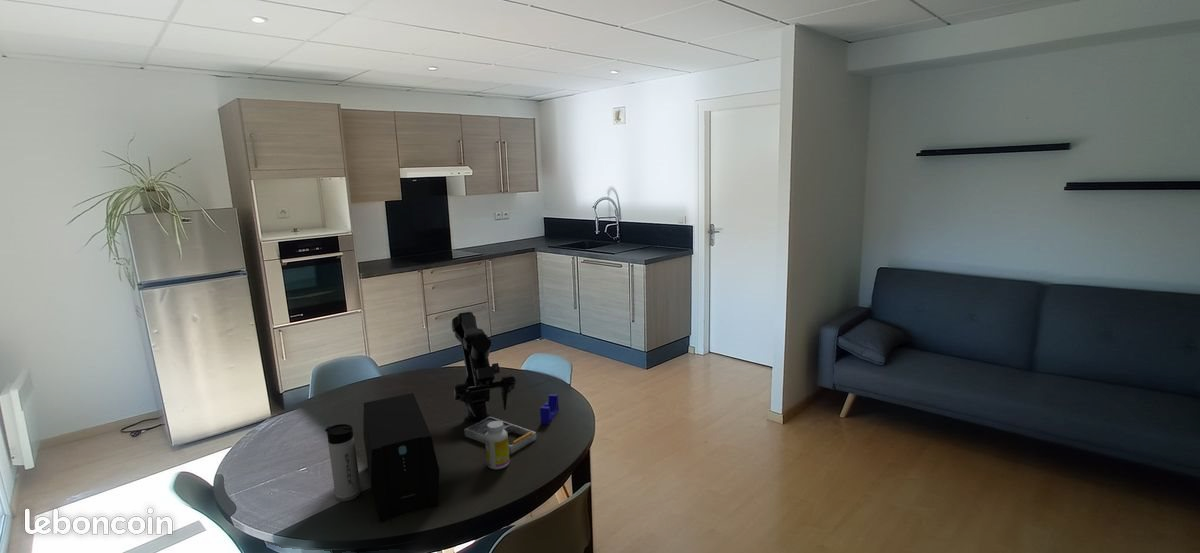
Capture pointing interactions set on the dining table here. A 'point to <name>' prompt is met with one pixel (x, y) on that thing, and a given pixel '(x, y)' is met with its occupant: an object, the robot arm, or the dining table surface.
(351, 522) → the dining table surface
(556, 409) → the cable clip
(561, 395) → the dining table surface
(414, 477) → the uninterruptible power supply
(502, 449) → the supplement bottle
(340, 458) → the travel mug
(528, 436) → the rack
